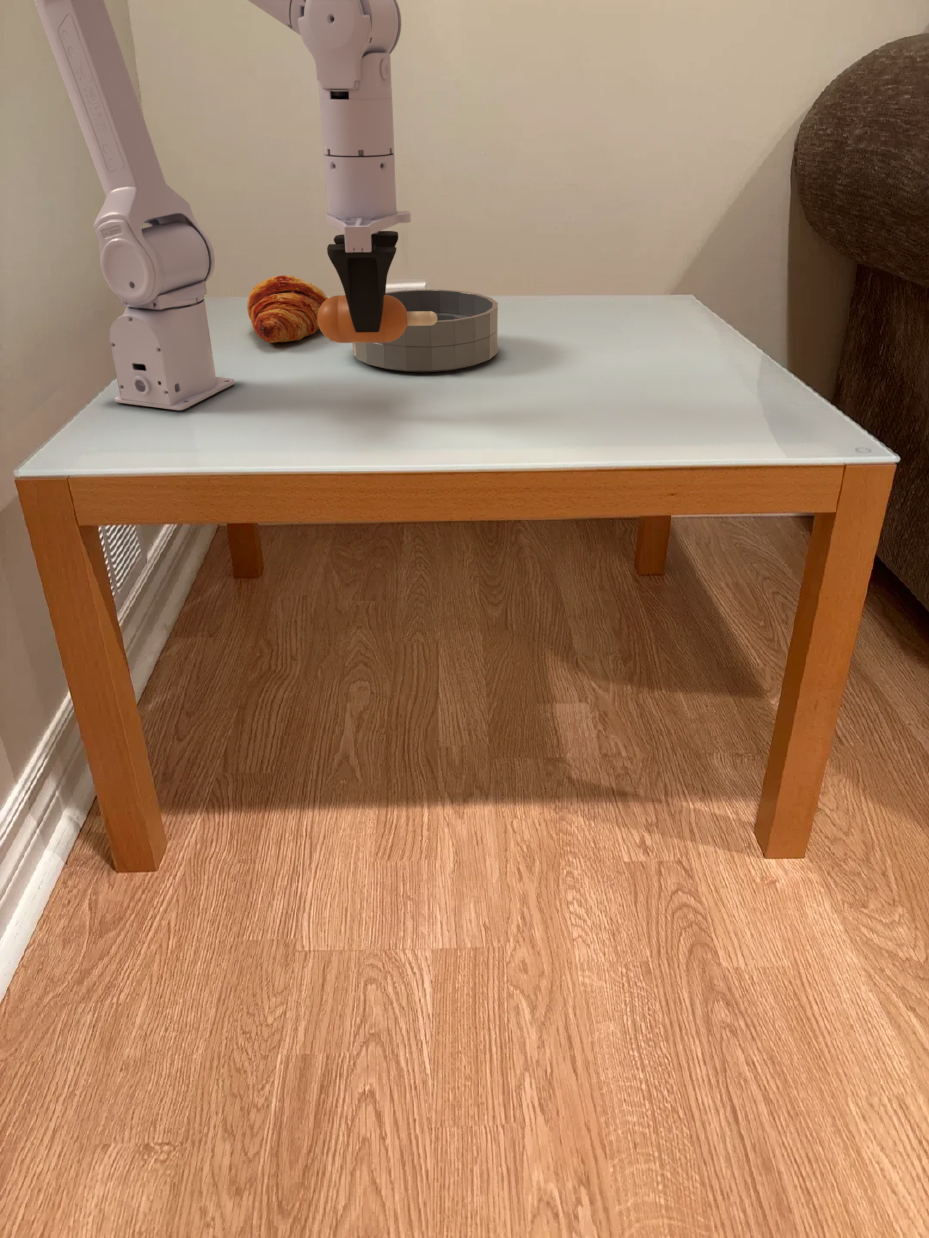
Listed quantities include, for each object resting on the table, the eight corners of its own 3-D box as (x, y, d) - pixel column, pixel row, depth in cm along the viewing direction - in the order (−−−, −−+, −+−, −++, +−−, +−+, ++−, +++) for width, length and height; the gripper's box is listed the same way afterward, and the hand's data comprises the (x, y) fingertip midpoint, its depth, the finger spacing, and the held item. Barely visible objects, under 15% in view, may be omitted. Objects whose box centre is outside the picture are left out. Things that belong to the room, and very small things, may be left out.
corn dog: (317, 348, 80) (313, 301, 78) (321, 336, 84) (317, 291, 82) (437, 347, 81) (437, 300, 79) (437, 335, 84) (436, 290, 82)
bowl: (467, 381, 95) (467, 327, 92) (328, 367, 100) (324, 315, 97) (515, 343, 108) (516, 295, 105) (390, 332, 113) (388, 285, 110)
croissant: (288, 335, 125) (255, 281, 121) (351, 299, 122) (319, 243, 119) (252, 378, 106) (211, 315, 103) (325, 337, 104) (286, 271, 100)
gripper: (406, 162, 68) (412, 346, 75) (409, 147, 81) (414, 306, 88) (311, 163, 68) (326, 347, 75) (329, 147, 81) (341, 307, 88)
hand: (368, 325), depth 81 cm, fingers closed on corn dog, 4 cm apart
